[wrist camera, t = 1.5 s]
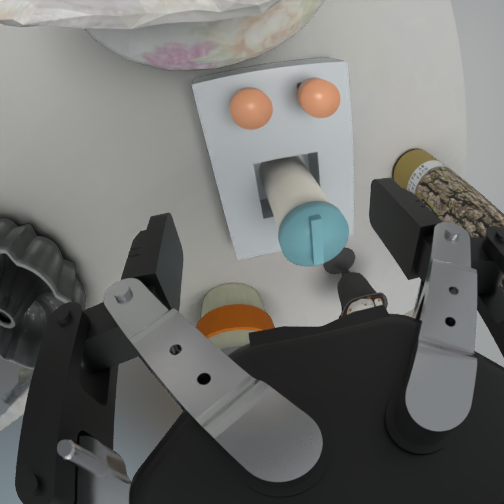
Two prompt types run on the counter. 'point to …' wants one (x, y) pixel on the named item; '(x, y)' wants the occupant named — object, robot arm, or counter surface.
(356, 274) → the sundae
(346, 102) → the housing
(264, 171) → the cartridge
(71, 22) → the ceramic pitcher
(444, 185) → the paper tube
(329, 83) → the plunger
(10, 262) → the bundt pan
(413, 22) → the counter surface
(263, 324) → the reusable coffee cup
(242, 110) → the plunger
